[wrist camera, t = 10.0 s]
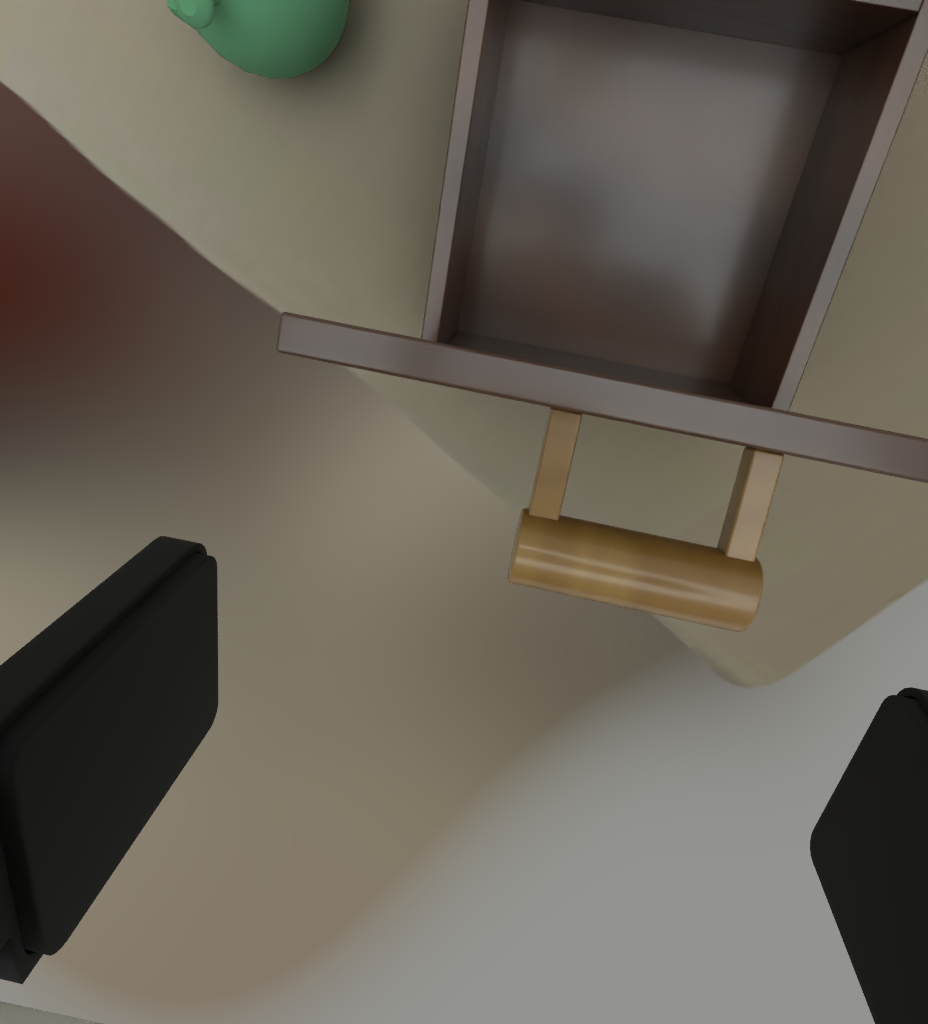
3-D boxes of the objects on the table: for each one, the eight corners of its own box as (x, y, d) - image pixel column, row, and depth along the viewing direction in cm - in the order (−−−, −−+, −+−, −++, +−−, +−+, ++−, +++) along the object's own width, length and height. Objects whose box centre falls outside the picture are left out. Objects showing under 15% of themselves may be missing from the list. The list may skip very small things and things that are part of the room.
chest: (498, -20, 31) (480, -90, 24) (860, 41, 30) (952, -13, 23) (443, 340, 38) (416, 368, 31) (736, 397, 37) (777, 440, 30)
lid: (280, 310, 13) (245, 552, 14) (1146, 482, 12) (1051, 727, 13) (416, 361, 30) (396, 469, 31) (783, 434, 29) (752, 543, 30)
